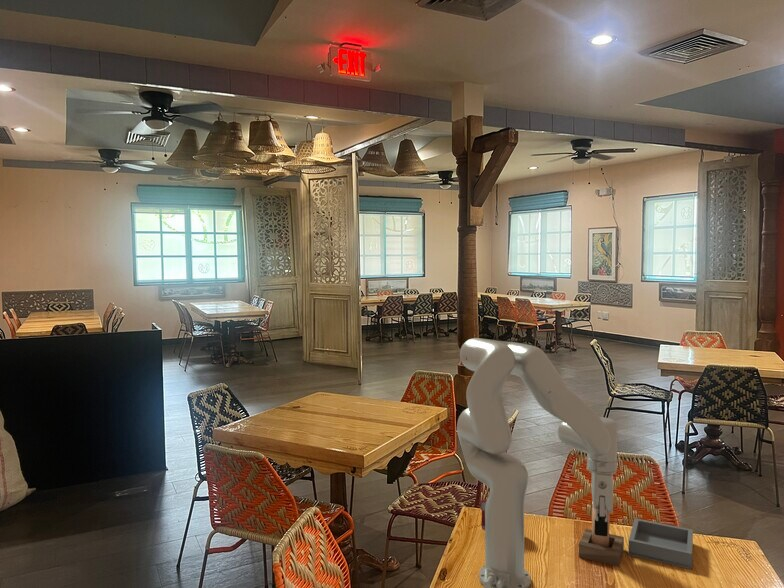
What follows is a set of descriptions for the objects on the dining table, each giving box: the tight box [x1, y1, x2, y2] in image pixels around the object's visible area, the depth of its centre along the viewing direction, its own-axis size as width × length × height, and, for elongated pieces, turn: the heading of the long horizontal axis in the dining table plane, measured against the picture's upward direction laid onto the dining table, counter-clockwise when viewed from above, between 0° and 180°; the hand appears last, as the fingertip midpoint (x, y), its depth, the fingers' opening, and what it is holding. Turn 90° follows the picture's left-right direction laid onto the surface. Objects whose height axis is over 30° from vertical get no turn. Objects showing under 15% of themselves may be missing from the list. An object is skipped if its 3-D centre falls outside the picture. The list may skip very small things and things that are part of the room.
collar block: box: [578, 528, 625, 567], centre depth 149 cm, size 10×10×4 cm
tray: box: [627, 517, 694, 570], centre depth 151 cm, size 15×15×4 cm
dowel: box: [591, 505, 611, 547], centre depth 149 cm, size 4×4×11 cm
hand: (600, 530), depth 149 cm, fingers closed on dowel, 4 cm apart
